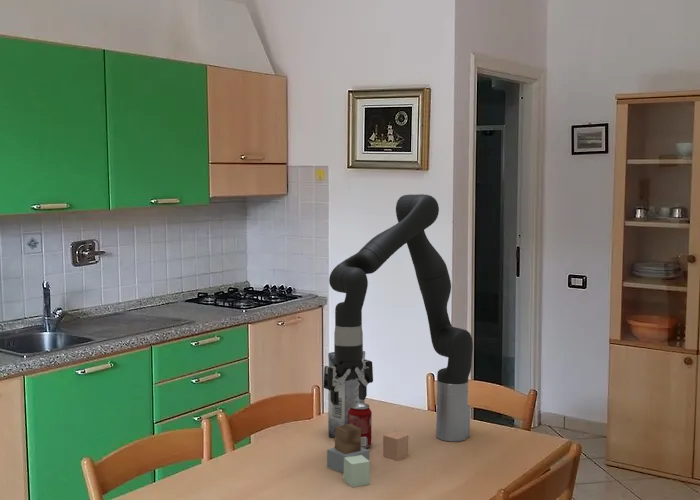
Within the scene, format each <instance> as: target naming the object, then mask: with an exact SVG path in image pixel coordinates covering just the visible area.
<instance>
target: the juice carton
mask: <svg viewBox="0 0 700 500" xmlns="http://www.w3.org/2000/svg"><path fill="white" fill-rule="evenodd" d="M327 353H328V352H327ZM327 356H328V366H329V367H332V366H334V365H335V358H334V351H331V352H329V353H328V354H327ZM365 359H366V351H365V350H363V358H362V362H363V361H364V360H365ZM360 372H361V373H362V375H363V376H364V368H362V369H361V371H360ZM335 374H336V372H335V371H334V374H333V378H334V376H335ZM339 379H340V378H339ZM339 379H338V380H339ZM359 385H360V384H359V382H358V381H357V380H356V379H355V380H349V381H344V383H343V384H342V385H341V386H340V387H339V389H338V392H339V405H334V404H332V402H331V394H330V390H328V393H327V394H328V397H327V398H328V399H327V400H328V403H327V404H328V406H327V408H328V417H327V419H328V420H327V423H328V426H327V427H328V430H327V431H328V437H329V438H332V439H335V427H337V426H342V425H347V424H348V411H349V409H350V408H351V407H350V405H351V404H354V403H365V400H361V399H359Z"/></svg>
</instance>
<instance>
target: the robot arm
mask: <svg viewBox="0 0 700 500" xmlns="http://www.w3.org/2000/svg"><path fill="white" fill-rule="evenodd" d="M439 211H440V208H439V203H438V201H437V199H436V198H435V197H434V196H432V195H429V194H424V193H421V194H419V193H418V194H404V195H402V196H400V197H399V199H397V201H396V204H395V215H396V219H397V223H396V224H393V225H392V226H391V227H389V228H387V229H386V230H384V231H382V232H380V233H378V234H376V235H375V236H374V237H373V238H371V239H370V240H369V241H367V243H366V244H365V245H364V246H362V248H360V249H359V251H358V252H356V253H355V254H353V255H350V256H349V257H347V258H346V259H344V260H342V262H340V263H338V264H336V266H335V267H334V268H333V269H332V270H331V272H330V275H329V279H328V281H329V285H330V288H331V289H332V290H333V291H335V292H337V293H343V294H345V298H344V301H342V302H338V303H337V304H336V305H335V310H334V314H335V315H334V316H335V317H334V320H335V323H334V324H335V325H334V331H333V332H334V335H333V336H334V337H333V338H334V339H333V340H334V341H333V342H334V343H333V345H334V347H333V349H334V351H333V352H334V358H335V365H334V366H332V367H329V365H326V366H324V368H323V388H324V389H325V390H328V391H329V390H330V394H331V402H332V404H334V405H339V392H338V389H339V387H340V386H341V385H342V384H343V383H344V381H349V380H355V379H356V380H357V381H358V382H359V384H360V385H359V399H361V400H364V401H366V398H367V396H368V393H367V390H368V389H367V387H368V385H369V384H370V383H374V370H373V361H371V360H369V359H366V358H365V360H364V361H363V362H362V358H363V351H364V349H363V348H364V339H363V338H364V336H363V335H364V334H363V319H362V317H363V316H362V315H363V312H362V311H363V306H364V303H365V299H366V295H367V292H368V291H367V290H368V287H369V286H368V285H369V283H368V276H367V275H370V274H374V273H375V272H377V271H378V270H379V268H381V267H382V266H383V265H384V263H386V262H387V260H389V259H390V257H392V256H393V255H394V254H395V253H396V252H397V251H398V250H399V249H400V248H402V247H403V246H404V245H405V244H407V245H406V246H407V248H408V251H409V255H410V257H411V261H412V264H413V267H414V272H415V275H416V276H415V277H416V280H417V283H418V286H419V287H418V288H419V291H420V294H421V296H422V300H423V305H424V308H425V312H426V316H427V321H428V326H429V328H428V329H429V334H430V340H431V343H432V347H433V350H434V351H435V353H437V354H438V355H439V356H442V357H445V358H448V359H447V366H446V367H442V368H440V369H439V370H438V371H437V373H436V375H437V376H436V377H437V378H436V418H435V419H436V421H435V425H436V429H435V431H436V432H435V436H436V438H437V439H439V440H442V441H446V442H461V441H465V440H467V438H470V435H471V434H470V431H471V428H470V427H471V406H470V404H469V376H470V373H471V371H472V363H473V346H474V343H473V338H472V335H471V333H470V332H469V331H468V330H466V329H465V328H464V329H463V328H459V327H456V326H453V325H452V324H451V320H450V318H449V314H448V303H449V299H450V296H451V292H452V281H451V278H450V273H449V270H448V266H447V264H446V261H445V260H444V259H443V257H442V256H441V255H440V253H439V252H438V251H437V249H436V248H435V247H434V246H433V245H432V243H431V241H430V240H429V238H428V237H427V234H426V232H425V230H426V229H428V228H429V227H431V226H432V225H433V224H434V223H435V222H436V221H437V219H438V216H439ZM362 368H364V376H363V375H362V373H361V372H360V371H361V369H362ZM334 371H335V372H336V374H335V376H334V378H333V374H334ZM339 378H340V379H339ZM338 379H339V380H338Z"/></svg>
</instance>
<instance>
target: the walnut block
mask: <svg viewBox="0 0 700 500" xmlns="http://www.w3.org/2000/svg"><path fill="white" fill-rule="evenodd" d="M334 447H335V449H336V450H338V451H340V452H342V453H344V454H348V453H353V452H357V451H361V429H360V428H358V427H356V426H354V425H352V424H347V425H342V426H337V427H335V438H334Z"/></svg>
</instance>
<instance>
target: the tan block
mask: <svg viewBox="0 0 700 500" xmlns="http://www.w3.org/2000/svg"><path fill="white" fill-rule="evenodd" d="M382 436H383V437H382V440H383V442H382V444H383V445H382V457H384V458H388V459H391V460H394V461H399V460H402V459H404V458H406V457H408V456H409V436H410V435H409V434H406V433H403V432H398V431H390V432H389V433H386V434H383V435H382Z"/></svg>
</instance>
